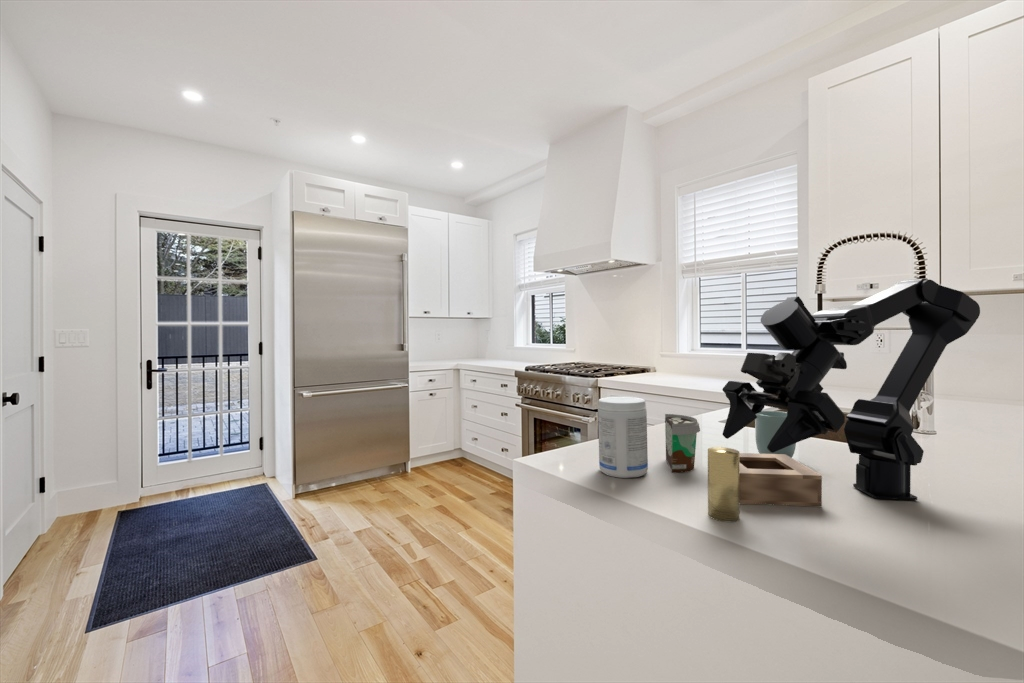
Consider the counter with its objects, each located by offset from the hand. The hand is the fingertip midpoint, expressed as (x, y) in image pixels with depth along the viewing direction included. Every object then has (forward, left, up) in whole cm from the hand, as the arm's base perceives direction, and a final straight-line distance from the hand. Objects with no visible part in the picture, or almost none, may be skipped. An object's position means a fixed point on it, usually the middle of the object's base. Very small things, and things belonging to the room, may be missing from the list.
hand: (745, 443), depth 71 cm
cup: (-17, -32, -11) cm, 38 cm away
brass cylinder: (+4, +2, -11) cm, 12 cm away
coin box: (-6, -10, -11) cm, 16 cm away
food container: (+4, -24, -11) cm, 27 cm away
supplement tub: (+17, -19, -11) cm, 28 cm away
